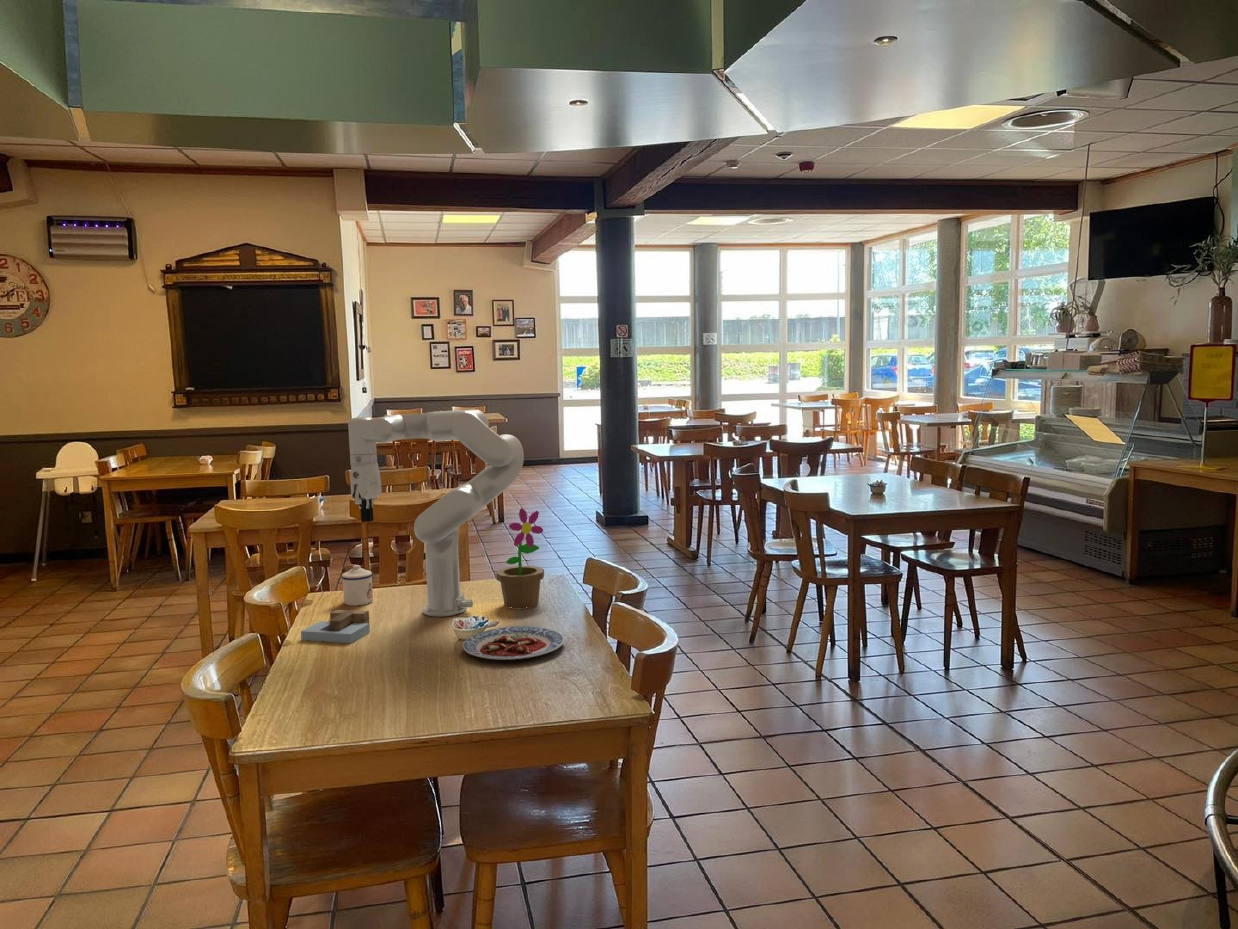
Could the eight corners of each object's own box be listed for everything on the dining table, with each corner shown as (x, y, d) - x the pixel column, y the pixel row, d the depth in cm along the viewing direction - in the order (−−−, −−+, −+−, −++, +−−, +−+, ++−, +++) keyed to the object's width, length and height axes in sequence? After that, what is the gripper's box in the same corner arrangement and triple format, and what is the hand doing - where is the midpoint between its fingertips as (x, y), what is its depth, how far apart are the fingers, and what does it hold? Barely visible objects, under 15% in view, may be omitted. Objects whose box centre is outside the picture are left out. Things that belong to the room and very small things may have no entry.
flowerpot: (516, 613, 262) (512, 512, 259) (488, 604, 273) (483, 506, 269) (554, 603, 272) (551, 505, 268) (526, 595, 282) (522, 500, 279)
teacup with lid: (374, 604, 276) (372, 567, 275) (343, 607, 274) (341, 570, 272) (372, 595, 288) (370, 559, 286) (342, 598, 285) (340, 561, 284)
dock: (369, 632, 248) (369, 623, 247) (351, 643, 238) (350, 634, 238) (321, 629, 251) (320, 621, 251) (301, 640, 242) (300, 631, 242)
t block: (369, 628, 252) (368, 610, 251) (353, 639, 242) (352, 621, 242) (336, 627, 254) (335, 610, 253) (318, 638, 244) (317, 620, 243)
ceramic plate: (540, 671, 214) (539, 659, 214) (444, 662, 223) (443, 650, 222) (579, 638, 239) (579, 627, 238) (491, 631, 247) (491, 620, 247)
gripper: (361, 462, 256) (365, 526, 258) (388, 456, 270) (391, 517, 272) (338, 462, 258) (342, 525, 260) (365, 456, 272) (369, 516, 274)
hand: (367, 521), depth 266 cm, fingers closed
